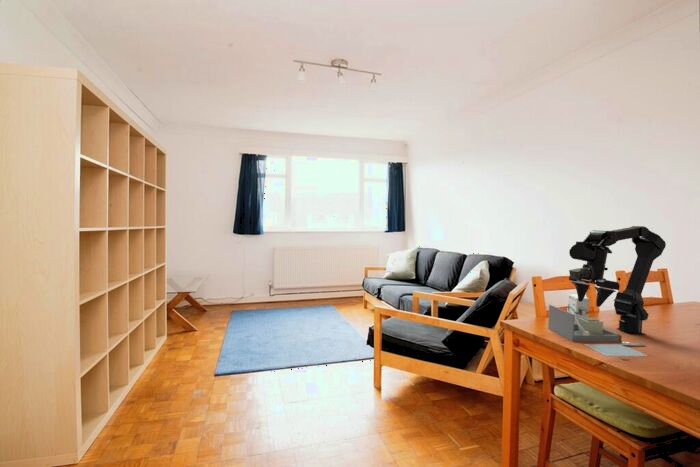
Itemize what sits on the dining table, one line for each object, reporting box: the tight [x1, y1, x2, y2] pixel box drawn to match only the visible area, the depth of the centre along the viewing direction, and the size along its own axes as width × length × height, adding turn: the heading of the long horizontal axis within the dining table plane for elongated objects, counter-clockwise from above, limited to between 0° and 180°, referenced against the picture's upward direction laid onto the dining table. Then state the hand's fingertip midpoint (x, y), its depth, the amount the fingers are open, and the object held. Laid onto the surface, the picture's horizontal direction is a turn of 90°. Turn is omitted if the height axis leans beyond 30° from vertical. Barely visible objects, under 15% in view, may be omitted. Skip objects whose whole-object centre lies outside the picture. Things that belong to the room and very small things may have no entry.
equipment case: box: [547, 304, 622, 343], centre depth 129 cm, size 18×14×10 cm
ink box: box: [566, 293, 590, 324], centre depth 145 cm, size 9×5×12 cm, turn 168°
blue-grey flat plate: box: [583, 343, 648, 357], centre depth 114 cm, size 14×10×1 cm
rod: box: [620, 341, 647, 347], centre depth 118 cm, size 8×1×1 cm, turn 91°
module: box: [578, 317, 604, 335], centre depth 128 cm, size 6×4×6 cm
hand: (588, 303), depth 128 cm, fingers open, 9 cm apart
